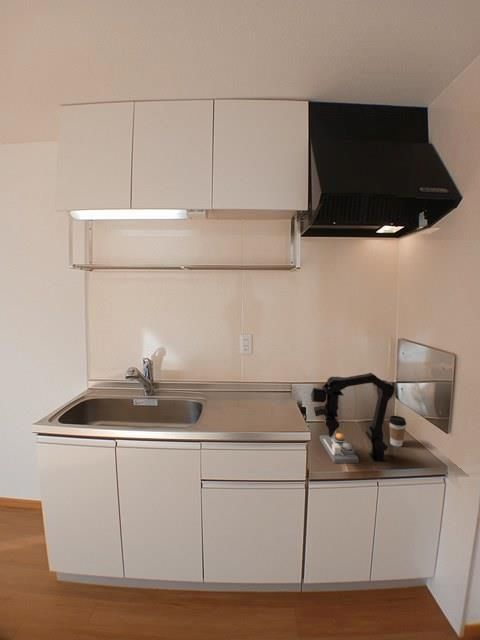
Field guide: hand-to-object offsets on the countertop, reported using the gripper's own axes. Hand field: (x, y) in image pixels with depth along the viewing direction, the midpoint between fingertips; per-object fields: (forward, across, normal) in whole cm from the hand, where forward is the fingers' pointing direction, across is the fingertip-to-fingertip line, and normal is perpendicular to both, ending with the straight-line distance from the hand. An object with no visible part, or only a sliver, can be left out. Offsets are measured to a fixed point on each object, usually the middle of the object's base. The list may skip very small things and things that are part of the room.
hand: (329, 432), depth 152 cm
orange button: (+9, -13, +7) cm, 17 cm away
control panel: (+12, -8, +6) cm, 16 cm away
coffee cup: (+11, -21, +38) cm, 45 cm away
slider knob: (+10, -1, +4) cm, 11 cm away
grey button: (+8, -3, +10) cm, 13 cm away
